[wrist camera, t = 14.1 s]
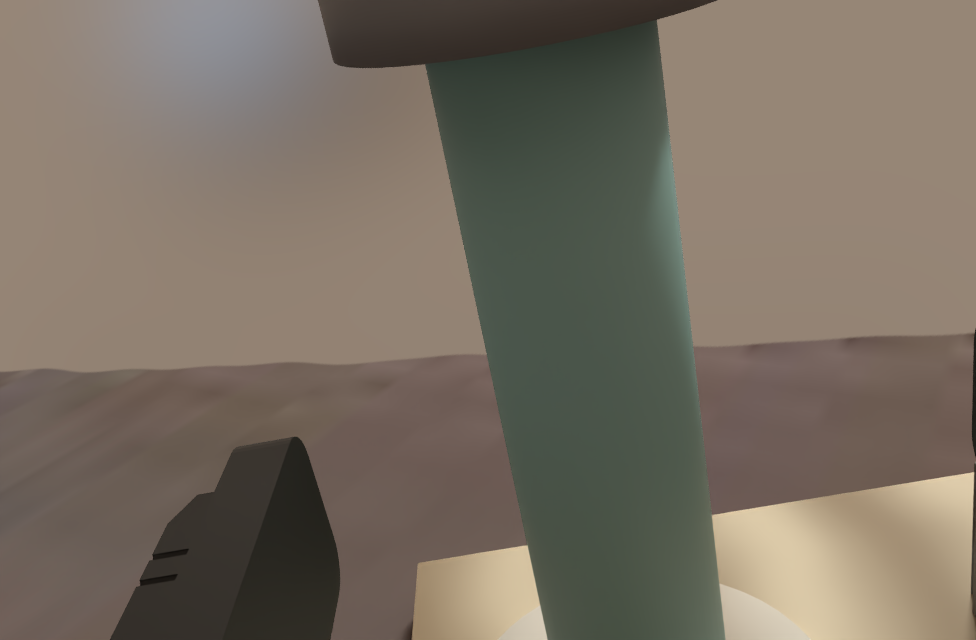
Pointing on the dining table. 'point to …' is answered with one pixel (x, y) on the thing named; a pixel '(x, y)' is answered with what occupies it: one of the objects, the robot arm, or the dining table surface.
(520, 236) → the wheel peg
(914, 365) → the dining table surface
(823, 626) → the eye board
